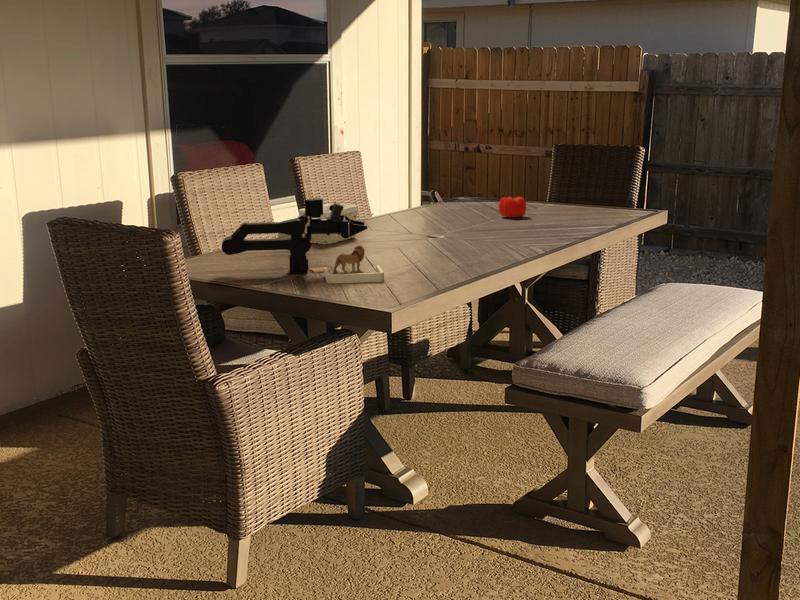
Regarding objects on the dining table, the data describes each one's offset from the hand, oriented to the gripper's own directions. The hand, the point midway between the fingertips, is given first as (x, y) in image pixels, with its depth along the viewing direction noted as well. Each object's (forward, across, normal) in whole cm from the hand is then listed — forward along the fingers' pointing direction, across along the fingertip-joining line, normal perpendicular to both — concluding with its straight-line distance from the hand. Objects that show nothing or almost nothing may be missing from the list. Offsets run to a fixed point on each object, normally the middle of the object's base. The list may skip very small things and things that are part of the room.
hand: (365, 225), depth 356 cm
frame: (-6, -15, +17) cm, 23 cm away
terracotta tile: (-17, +1, +17) cm, 24 cm away
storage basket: (-8, +68, +17) cm, 71 cm away
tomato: (+88, +118, +16) cm, 148 cm away
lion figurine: (-6, -1, +17) cm, 18 cm away
